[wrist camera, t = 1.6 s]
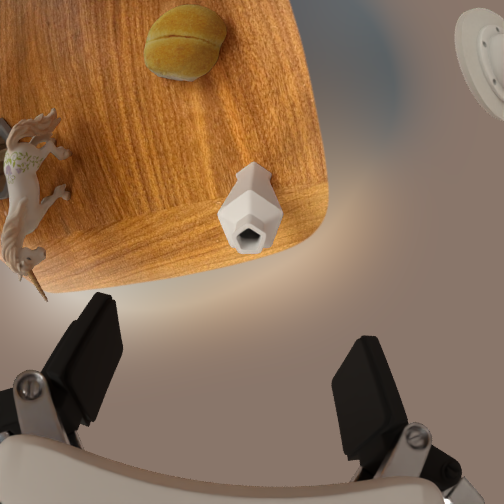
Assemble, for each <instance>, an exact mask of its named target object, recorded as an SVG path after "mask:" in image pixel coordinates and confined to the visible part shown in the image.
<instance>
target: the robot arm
mask: <svg viewBox="0 0 504 504" xmlns="http://www.w3.org/2000/svg"><path fill="white" fill-rule="evenodd" d="M477 51H478V57H479V61H480V65H481V68H482V71H483V74H484V76H485V78H486V80H487V82H488V84H489V86H490V87H491V89H492V90H493V92H494V93H495V94H496V95H497V96H498V97H499V98H500V99H501V100H502V101H503V102H504V29H503V28H501V27H500V26H497V25H487V26H484V27H483V28H482V29H481V30H480V32H479V35H478V39H477ZM122 352H123V344H122V339H121V333H120V327H119V321H118V314H117V307H116V301H115V300H112V297H111V295H108V294H104V293H100V292H97V293H95V294H94V296H93V297H92V299H91V300H90V302H89V303H88V305H87V306H86V307H85V309H84V310H83V312H82V314H81V315H80V316H79V318H78V319H77V320H75V321H73V322H72V323H71V324H70V326H69V327H68V329H67V330H66V332H65V333H64V335H63V337H62V338H61V340H60V341H59V343H58V344H57V346H56V348H55V349H54V351H53V353H52V354H51V356H50V358H49V359H48V361H47V363H46V364H45V366H44V368H43V369H42V371H41V373H40V372H38V371H35V370H26V371H24V372H22V373H20V374H19V375H18V376H17V377H16V379H15V380H14V384H13V388H10V389H7V390H3V391H0V504H485V502H484V499H483V497H482V496H481V495H480V494H479V493H478V492H477V490H476V489H475V488H474V487H473V486H472V485H471V483H470V482H469V481H468V480H467V479H466V478H465V476H464V477H463V478H461V475H462V469H461V466H460V464H459V463H458V461H456V460H455V459H454V458H452V457H450V456H449V455H447V454H446V453H444V452H443V451H441V450H439V449H438V448H436V447H434V446H433V445H432V436H431V433H430V431H429V430H428V428H427V427H426V426H424V425H423V424H420V423H416V422H413V423H410V424H408V421H407V420H408V419H407V416H406V413H405V410H404V407H403V404H402V401H401V398H400V395H399V392H398V390H397V387H396V384H395V381H394V379H393V376H392V373H391V371H390V368H389V366H388V363H387V360H386V358H385V355H384V353H383V350H382V348H381V345H380V343H379V340H378V338H377V337H376V336H361V338H360V339H357V340H356V342H355V343H354V345H353V347H352V348H351V350H350V352H349V354H348V355H347V357H346V358H345V360H344V362H343V363H342V365H341V367H340V368H339V370H338V371H337V373H336V374H335V376H334V377H333V380H332V391H333V396H334V401H335V406H336V412H337V416H338V422H339V427H340V434H341V439H342V445H343V451H344V453H345V455H347V457H348V461H350V460H360V467H359V468H358V470H357V471H356V473H355V474H354V476H353V477H352V479H351V480H350V482H349V483H340V484H330V485H319V486H301V487H259V486H257V487H256V486H241V485H228V484H219V483H211V482H204V481H197V480H191V479H185V478H180V477H175V476H169V475H164V474H160V473H156V472H152V471H148V470H144V469H140V468H137V467H133V466H130V465H126V464H123V463H120V462H117V461H113V460H110V459H107V458H104V457H101V456H98V455H95V454H93V453H90V452H87V451H85V450H84V447H83V445H82V443H81V440H80V438H79V435H78V433H77V430H78V427H79V425H80V424H83V425H85V426H88V427H89V425H90V422H91V421H92V422H94V421H95V420H96V417H97V415H98V412H99V409H100V407H101V404H102V402H103V399H104V396H105V394H106V391H107V389H108V387H109V384H110V381H111V379H112V377H113V374H114V372H115V370H116V367H117V365H118V363H119V360H120V358H121V356H122Z"/></svg>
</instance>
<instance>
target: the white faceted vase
mask: <svg viewBox="0 0 504 504" xmlns="http://www.w3.org/2000/svg"><path fill="white" fill-rule="evenodd" d="M271 175H272V174H271V173H270V172H269V171H267V170H266V169H264V168H263V167H262V166H260V165H259V164H257V163H256V162H252V163H250V164H249V165H247V166H246V167H245V168H243V169H242V170H241V171H239V172H238V173H237V174H236V177H237V182H236V184H235V185H234V187H233V188H232V190H231V192H230V193H229V195H228V197H227V198H226V200H225V201H224V203H223V205H222V206H221V208H220V210H219V211H218V214H217V215H218V218H219V220H220V223H221V225H222V227H223V230H224V232H225V235H226V237H227V239H228V242H229V244H230V246H231V247H232V248H236V250H237V251H238V253H240V254H258V253H260V252H261V251H262V249H263V248H269V247H271V246H272V244H273V241H274V238H275V236H276V233H277V230H278V228H279V225H280V223H281V220H282V217H283V211H282V209H281V206H280V204H279V202H278V199H277V197H276V195H275V192H274V190H273V188H272V186H271V183H270V179H271Z"/></svg>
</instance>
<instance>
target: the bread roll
mask: <svg viewBox="0 0 504 504" xmlns="http://www.w3.org/2000/svg"><path fill="white" fill-rule="evenodd" d="M226 32H227V31H226V26H225V24H224V22H223V21H222V19H221V18H220V17H219V15H217V14H216V13H215V12H214V11H212V10H210V9H208V8H206V7H203V6H200V5H182V6H178V7H175V8H173V9H171V10H169V11H168V12H166V13H165V14H163V15H162V16H161V17H160V18H159V19H158V20H157V21H156V22H155V23H154V24H153V25H152V27H151V29H150V31H149V33H148V37H147V40H146V44H145V48H144V60H145V64H146V66H147V68H149V70H150V71H152V72H153V73H155V74H156V75H157V76H159V77H164V78H168V79H174V80H180V81H183V80H185V81H194V80H196V79H197V78H199V77H201V76H203V75H205V74H206V73H208V72H209V71H210V70H211V69H212V67H213V66H214V65H215V63H216V62H217V59H218V56H219V49H220V46H221V44H222V42H223V41H224V39H225V37H226Z"/></svg>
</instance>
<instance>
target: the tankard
mask: <svg viewBox="0 0 504 504" xmlns="http://www.w3.org/2000/svg"><path fill="white" fill-rule="evenodd" d="M10 132H11V128H10V126H9V125H8V124H7V123H6V122H5V120H4V119H3V118H0V199H6V198H8V197H9V192H8V185H7V180H6V176H5V173H4V158H5V154H6V151H7V150H8V148H7V145H6V141H7V138H8V136H9V134H10Z"/></svg>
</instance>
